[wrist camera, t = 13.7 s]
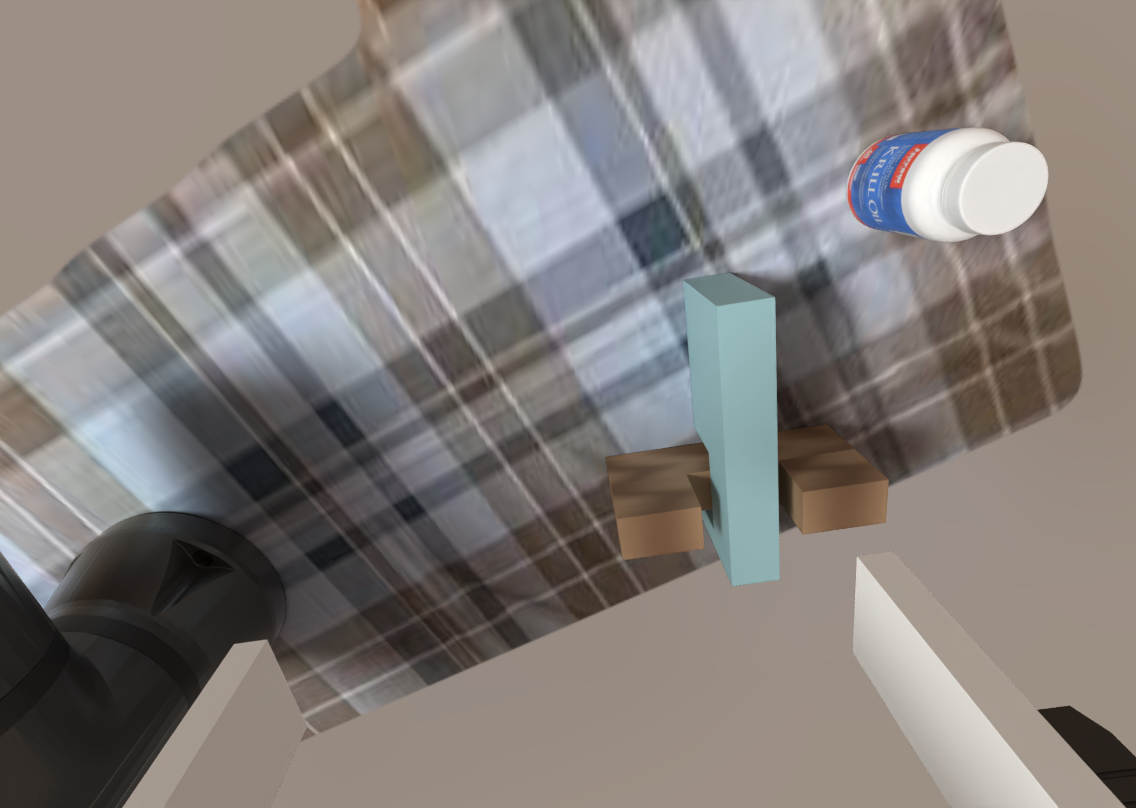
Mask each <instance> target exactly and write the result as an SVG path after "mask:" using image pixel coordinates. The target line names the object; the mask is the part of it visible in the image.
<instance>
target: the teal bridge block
mask: <svg viewBox="0 0 1136 808" xmlns="http://www.w3.org/2000/svg"><path fill="white" fill-rule="evenodd" d="M683 285H684V298H685V311H686V324H687V338H688V351H689V364H690V377H691V390H692V403H693V416H694V427H695V429H696V431H697V433H698V434H699V436H700V438H701V440H702V441H703V443H704V445H705V447H706V448H707V450H708V452H709V463H710V478H711V493H712V508H713V509H710V510H703V511H701V512H702V519H703V521H704V523H705V526H706V528H707V530H708V532H709V535H710V537H711V539H712V542H713V544H714V546H715V548H716V551H717V553H718V555H719V558H720V560H721V562H722V564H723V567H724V569H725V571H726V574H727V576H728V578H729V580H730V583H731V585H732V586H738V585H745V584H751V583H759V582H767V581H774V580H779V579H780V564H779V501H778V439H777V377H776V314H775V297H774V296H772V295H770V294H768V293H767V292H765V291H763V290H761V289H759V288H757V287H755V286H754V285H752V284H750V283H748V282H746V281H744V280H742V279H741V278H739V277H737V276H735V275H733V274H731V273H724V274H718V275H711V276H705V277H699V278H693V279H686V280H683Z"/></svg>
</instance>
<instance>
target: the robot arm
mask: <svg viewBox="0 0 1136 808" xmlns="http://www.w3.org/2000/svg"><path fill="white" fill-rule="evenodd" d="M285 616H286V598H285V593H284V590H283V586H282V584H281V581H280V579H279V577H278V575H277V573H276V572H275V570H274V569H273V567H272V566H271V564H270V563H269V562H268V560H267V559H266V558H265V557H264V556H263V555H262V554H261V553H260V552H259V551H258V550H257V549H256V548H255V547H254V546H253V545H252V544H250V543H249V542H248V541H246V540H245V539H244V538H242V537H241V536H239V535H238V534H236V533H234V532H233V531H231V530H229V529H227V528H225V527H223V526H221V525H218V524H216V523H214V522H211V521H208V520H205V519H202V518H198V517H194V516H190V515H184V514H177V513H150V514H143V515H138V516H134V517H131V518H128V519H125V520H123V521H120V522H118V523H116V524H115V525H113V526H111V527H110V528H108V529H107V530H106V531H104V532H103V533H102V534H101V535H99V536H98V537H97V538H96V539H94V540H93V541H92V542H91V543H89V544H88V545H87V546H86V547H84V548H83V549H82V550H81V551H80V552H79V554H78V555H77V556H76V557H75V558H74V559H73V561H72V562H71V564H70V566H69V568H68V570H67V572H66V574H65V576H64V578H63V580H62V581H61V583H60V584H59V586H58V587H57V589H56V590H55V592H54V593H53V595H52V596H51V598H50V600H49V601H48V603H47V604H46V606H45V608H44V609H43V608H42V607H41V605H40V604H39V603H38V601H37V600H36V599H35V597H34V596H33V595H32V593H31V592H30V591H29V589H28V588H27V587H26V585H25V584H24V583H23V581H22V580H21V579H20V577H19V576H18V575H17V573H16V572H15V571H14V569H13V568H12V567H11V565H10V564H9V563H8V561H7V560H6V558H5V557H4V556H3V554H2V553H1V552H0V808H271V806H272V803H273V801H274V799H275V797H276V795H277V792H278V790H279V788H280V786H281V783H282V781H283V779H284V777H285V774H286V772H287V770H288V768H289V766H290V763H291V761H292V759H293V757H294V754H295V752H296V750H297V747H298V745H299V743H300V741H301V739H302V736H303V734H304V732H305V730H306V728H307V725H306V723H305V721H304V718H303V716H302V714H301V712H300V710H299V708H298V705H297V703H296V701H295V699H294V697H293V695H292V692H291V690H290V688H289V686H288V684H287V682H286V679H285V677H284V675H283V673H282V671H281V668H280V666H279V664H278V662H277V660H276V658H275V655H274V653H273V651H272V649H271V647H272V645H273V643H274V642H275V640H276V638H277V637H278V635H279V633H280V631H281V629H282V627H283V624H284V621H285ZM853 654H854V655H855V657H856V659H857V660H858V662H859V663H860V665H861V666H862V668H863V670H864V671H865V673H866V674H867V676H868V677H869V679H870V681H871V682H872V684H873V685H874V687H875V689H876V690H877V692H878V694H879V695H880V696H881V698H882V700H883V701H884V703H885V705H886V706H887V708H888V709H889V711H890V712H891V714H892V716H893V717H894V719H895V720H896V722H897V724H898V725H899V727H900V728H901V730H902V732H903V733H904V735H905V736H906V738H907V739H908V741H909V742H910V744H911V746H912V747H913V749H914V751H915V752H916V754H917V755H918V757H919V758H920V760H921V762H922V763H923V765H924V766H925V768H926V770H927V771H928V773H929V774H930V776H931V778H932V779H933V781H934V782H935V784H936V785H937V787H938V789H939V790H940V792H941V793H942V795H943V797H944V798H945V800H946V801H947V803H948V804H949V806H950V807H951V808H1136V757H1135V756H1134V755H1133V754H1132V753H1131V752H1130V751H1129V750H1128V749H1127V748H1126V747H1125V746H1124V745H1123V744H1122V743H1121V742H1120V741H1119V740H1118V739H1117V738H1116V737H1115V736H1114V735H1113V734H1112V733H1110V732H1109V731H1108V730H1106V729H1105V728H1103V727H1102V726H1100V725H1099V724H1097V723H1095V722H1094V721H1092V720H1091V719H1089V718H1088V717H1086V716H1084V715H1083V714H1082V713H1080V712H1078V711H1077V710H1075V709H1074V708H1072V707H1071V706H1064V707H1056V708H1048V709H1040V710H1037V709H1036V708H1035V707H1034V706H1033V705H1032V704H1031V703H1030V702H1029V701H1028V700H1027V699H1026V697H1025V696H1024V695H1023V694H1022V693H1021V692H1020V691H1019V690H1018V689H1017V687H1016V686H1015V685H1014V684H1013V683H1012V682H1011V681H1010V680H1009V679H1008V678H1007V676H1006V675H1005V674H1004V673H1003V672H1002V671H1001V670H1000V669H999V668H998V667H997V665H996V664H995V663H994V662H993V661H992V660H991V659H990V658H989V657H988V656H987V654H985V652H984V651H983V650H982V649H981V648H980V647H979V646H978V645H977V644H976V642H975V641H974V640H973V639H972V638H971V637H970V636H969V635H968V634H967V632H965V630H964V629H963V628H962V627H961V626H960V625H959V624H958V623H957V621H956V620H955V619H954V618H953V617H952V616H951V615H950V614H949V613H948V612H947V610H946V609H945V608H944V607H943V606H942V605H941V604H940V603H939V602H938V601H937V599H935V597H934V596H933V595H932V594H931V593H930V592H929V591H928V590H927V588H926V587H925V586H924V585H923V584H922V583H921V582H920V581H919V580H918V578H917V577H916V576H915V575H914V574H913V573H912V572H911V571H910V570H909V569H908V567H907V566H906V565H905V564H904V563H903V562H902V561H901V560H900V559H899V558H898V557H897V555H896V554H895V553H894V552H893V551H892V552H885V553H878V554H871V555H864V556H857V570H856V591H855V612H854V634H853Z"/></svg>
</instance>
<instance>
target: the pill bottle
mask: <svg viewBox="0 0 1136 808" xmlns="http://www.w3.org/2000/svg"><path fill="white" fill-rule="evenodd" d="M1047 185H1048V166H1047V163H1046V160H1045V158H1044V156H1043V155H1042V153H1041V152H1040V151H1039V150H1038V149H1037V148H1035V147H1034V146H1032V145H1030V144H1027V143H1023V142H1010V141H1009V140H1008V139H1007V138H1006V137H1005V136H1003V135H1002V134H1000V133H998V132H996V131H994V130H991V129H986V128H957V129H947V130H934V131H925V132H914V133H905V134H896V135H891V136H888V137H885V138H883V139H880V140H878V141H876V142H875V143H873V144H872V145H870V146H869V147H868V148H867V149H866V150H865V151H864V152H863V153H862V154H861V155H860V156H859V157H858V159H857V160H856V162H855V163H854V165H853V167H852V169H851V171H850V173H849V176H848V180H847V184H846V200H847V204H848V207H849V209H850V211H851V213H852V215H853V216H854V217H855V218H856V219H857V220H858V221H859V222H860V223H862V224H863V225H865V226H868V227H870V228H873V229H877V230H882V231H888V232H893V233H898V234H902V235H907V236H912V237H917V238H922V239H927V240H932V241H938V242H958V241H963V240H967V239H970V238H972V237H975V236H977V235H979V234H982V235H998V234H1002V233H1005V232H1008V231H1011V230H1013V229H1015V228H1016V227H1018V226H1019V225H1021V224H1022V223H1024V222H1025V221H1026V220H1027V219H1028V218H1029V217H1030V216H1031V215H1032V214H1033V213H1034V212H1035V210H1036V209H1037V208H1038V206H1039V205H1040V203H1041V201H1042V199H1043V197H1044V195H1045V192H1046V189H1047Z"/></svg>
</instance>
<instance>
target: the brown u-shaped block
mask: <svg viewBox="0 0 1136 808" xmlns="http://www.w3.org/2000/svg"><path fill="white" fill-rule="evenodd" d="M777 439H778V500H779V501H780V503H781V504H782V506H783V507H784V508H785V510H786V511H787V513H788V514H789V516H790V517H791V518H792V520H793V521H794V523H795V524H796V526H797V527H798V528H799V530H800V531H801V533H802V534H810V533H817V532H824V531H831V530H838V529H845V528H852V527H859V526H866V525H873V524H880V523H886V512H887V498H888V483H889V480H888V479H887V478H886V477H885V476H884V475H883V474H882V473H881V472H880V471H878V470H877V469H876V468H875V467H874V466H873V465H872V464H871V463H870V462H869V461H867V460H866V459H865V458H864V457H863V456H862V455H861V454H860V453H859V452H857V451H856V450H855V449H854V448H853V447H852V446H851V445H850V444H849V443H847V442H846V441H845V440H844V439H843V438H842V437H841V436H840V435H839V434H837V433H836V432H835V431H834V430H833V429H832V428H831V427H830V426H829V425H827V424H824V425H818V426H811V427H804V428H798V429H791V430H784V431H777ZM606 464H607V471H608V478H609V485H610V492H611V497H612V503H613V508H614V514H615V519H616V525H617V530H618V535H619V541H620V546H621V552H622V557H623V560H628V559H635V558H642V557H649V556H656V555H663V554H670V553H677V552H684V551H691V550H698V549H704V538H703V525H702V512H701V511H703V510H710V509H713V508H712V493H711V478H710V463H709V452H708V450H707V448H706V447H705V445H704V443H697V444H690V445H683V446H677V447H670V448H663V449H657V450H650V451H643V452H636V453H630V454H623V455H616V456H610V457H606Z"/></svg>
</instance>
